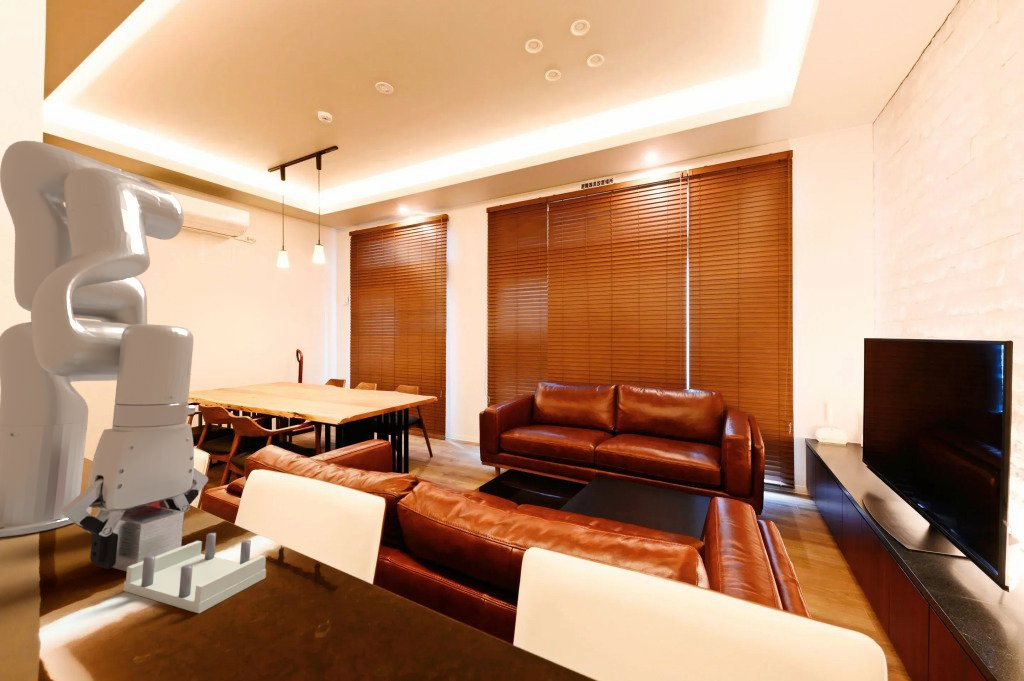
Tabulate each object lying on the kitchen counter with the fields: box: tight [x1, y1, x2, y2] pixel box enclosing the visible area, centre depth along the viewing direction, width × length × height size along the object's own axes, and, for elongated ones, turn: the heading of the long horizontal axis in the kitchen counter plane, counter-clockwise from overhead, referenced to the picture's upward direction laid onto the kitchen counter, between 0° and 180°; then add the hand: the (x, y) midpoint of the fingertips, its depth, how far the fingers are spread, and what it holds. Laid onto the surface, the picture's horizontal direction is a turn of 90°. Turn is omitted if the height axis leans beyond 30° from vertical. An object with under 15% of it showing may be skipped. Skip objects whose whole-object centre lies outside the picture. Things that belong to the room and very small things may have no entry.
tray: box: [123, 532, 267, 614], centre depth 49 cm, size 12×8×4 cm, turn 72°
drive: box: [112, 505, 185, 572], centre depth 55 cm, size 8×5×6 cm, turn 72°
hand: (139, 551), depth 54 cm, fingers open, 6 cm apart
